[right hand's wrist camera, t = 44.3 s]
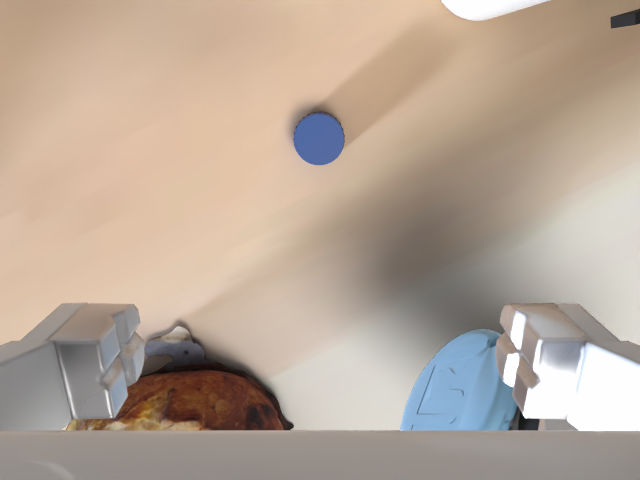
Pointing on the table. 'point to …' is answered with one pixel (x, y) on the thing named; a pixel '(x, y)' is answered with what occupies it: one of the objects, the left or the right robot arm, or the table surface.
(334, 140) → the cap
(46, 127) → the table surface
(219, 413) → the bread
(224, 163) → the table surface
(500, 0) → the bottle
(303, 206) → the table surface
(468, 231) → the table surface
